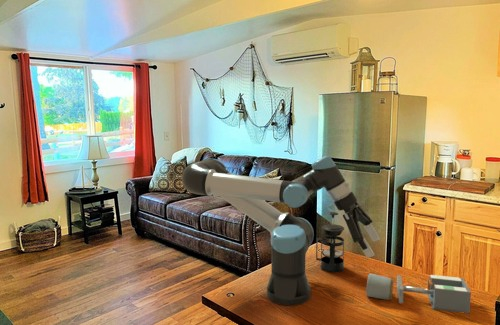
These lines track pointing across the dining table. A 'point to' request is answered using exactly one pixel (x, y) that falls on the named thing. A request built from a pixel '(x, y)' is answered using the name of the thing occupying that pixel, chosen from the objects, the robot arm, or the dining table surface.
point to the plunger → (412, 288)
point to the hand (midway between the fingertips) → (374, 248)
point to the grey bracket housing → (450, 294)
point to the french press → (331, 248)
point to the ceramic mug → (379, 287)
